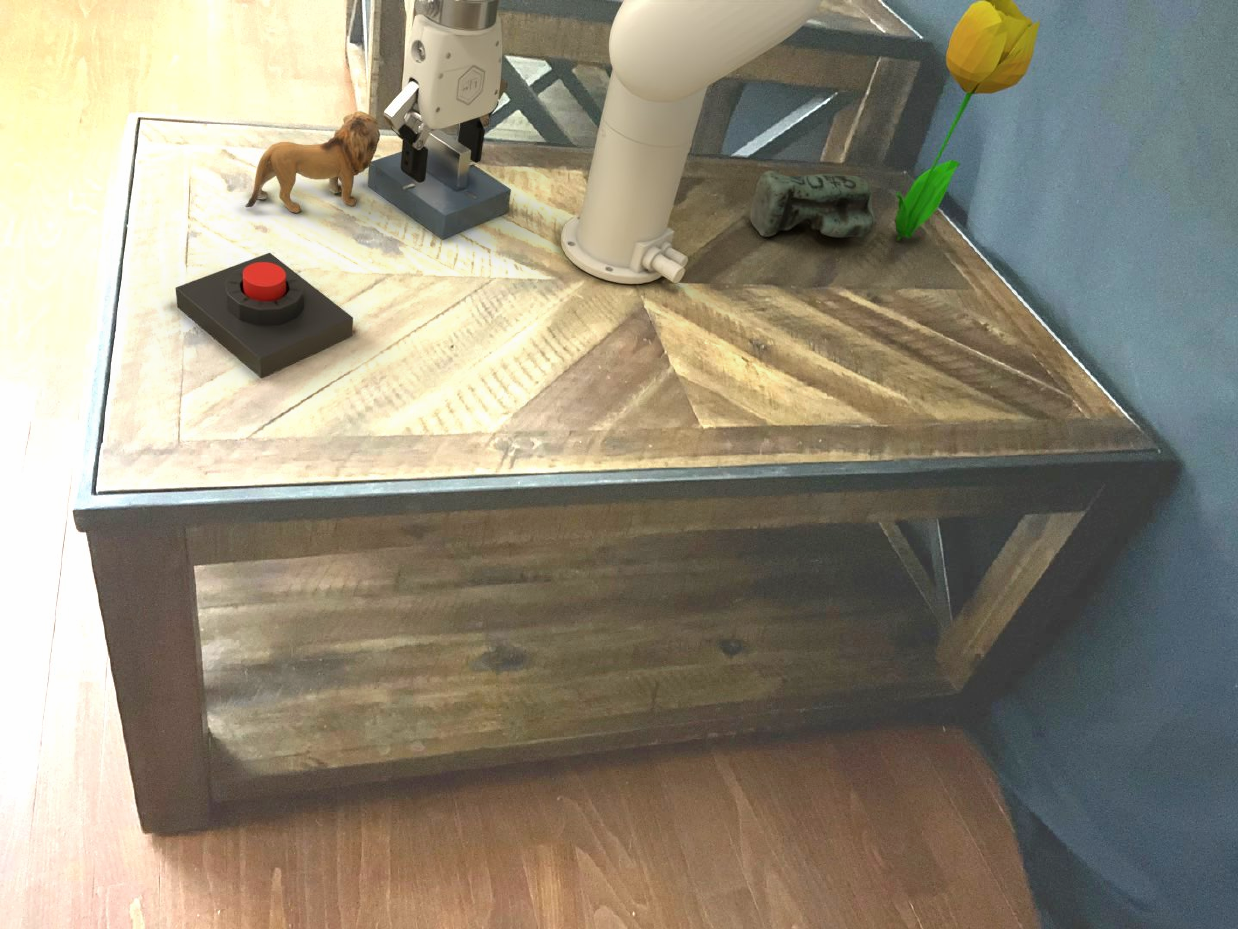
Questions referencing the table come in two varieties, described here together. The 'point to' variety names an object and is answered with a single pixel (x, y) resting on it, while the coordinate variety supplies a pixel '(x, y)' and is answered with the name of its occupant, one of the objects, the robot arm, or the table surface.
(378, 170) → the panel
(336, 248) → the table surface
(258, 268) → the red button
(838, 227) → the sculpture
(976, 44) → the flower
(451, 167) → the tap handle
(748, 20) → the robot arm
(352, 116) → the lion figurine
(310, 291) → the button box
